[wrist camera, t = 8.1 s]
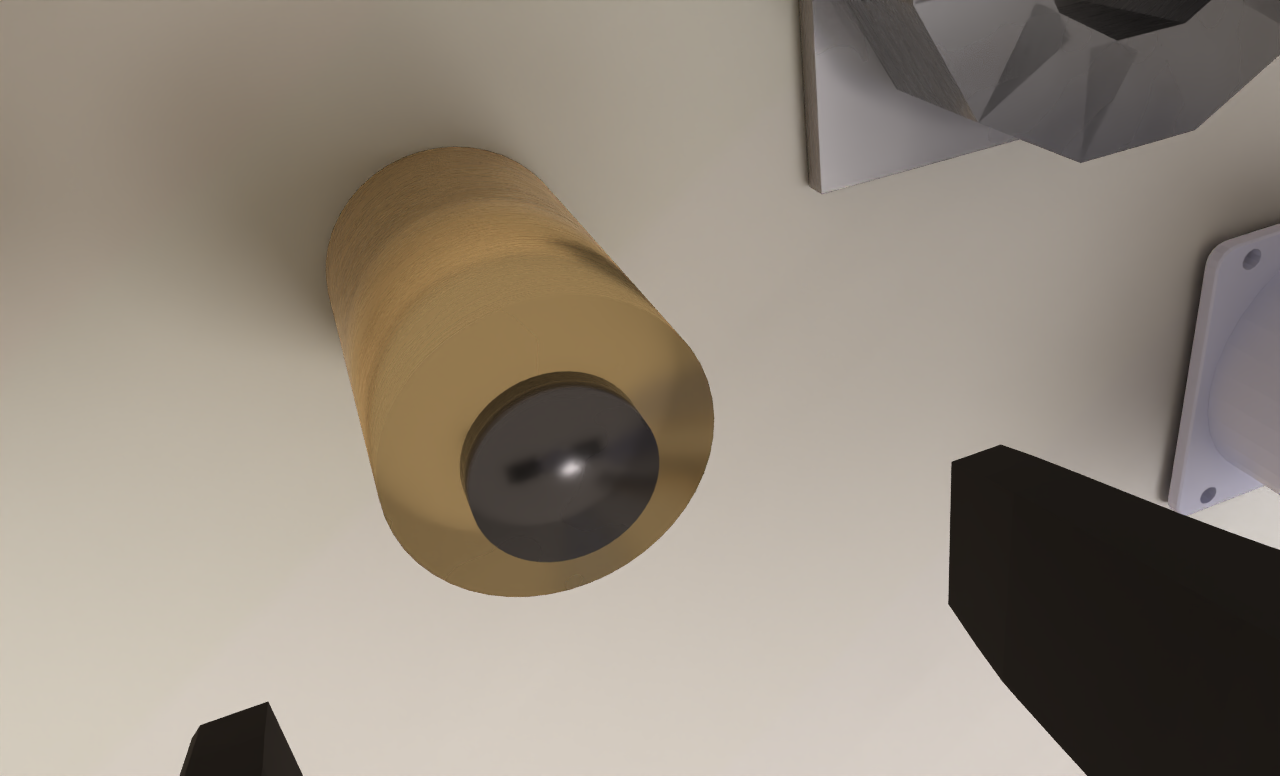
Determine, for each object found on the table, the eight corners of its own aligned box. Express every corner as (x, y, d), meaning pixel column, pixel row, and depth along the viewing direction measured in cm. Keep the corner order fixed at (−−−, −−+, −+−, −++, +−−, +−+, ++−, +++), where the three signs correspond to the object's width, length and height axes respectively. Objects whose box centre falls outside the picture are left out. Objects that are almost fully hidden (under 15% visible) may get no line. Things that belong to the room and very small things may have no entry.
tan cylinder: (561, 129, 18) (730, 281, 12) (582, 353, 20) (734, 573, 14) (300, 169, 17) (349, 360, 11) (353, 402, 19) (417, 665, 13)
